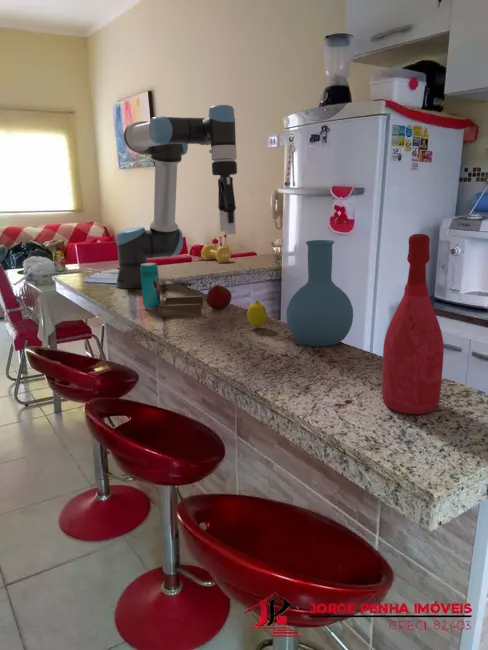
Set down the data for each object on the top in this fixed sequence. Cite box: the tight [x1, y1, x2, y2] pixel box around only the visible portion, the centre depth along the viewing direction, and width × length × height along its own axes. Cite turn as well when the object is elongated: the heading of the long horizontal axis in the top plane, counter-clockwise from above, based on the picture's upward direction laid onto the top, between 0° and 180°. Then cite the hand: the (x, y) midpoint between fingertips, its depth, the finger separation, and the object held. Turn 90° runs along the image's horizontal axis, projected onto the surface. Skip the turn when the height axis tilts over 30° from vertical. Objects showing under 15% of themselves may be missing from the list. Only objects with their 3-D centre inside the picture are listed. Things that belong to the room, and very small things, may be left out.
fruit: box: [246, 300, 268, 329], centre depth 140 cm, size 6×6×8 cm
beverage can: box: [140, 262, 162, 311], centre depth 167 cm, size 6×6×15 cm
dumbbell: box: [200, 244, 232, 264], centre depth 271 cm, size 19×9×8 cm, turn 34°
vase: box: [285, 239, 354, 347], centre depth 124 cm, size 16×16×25 cm
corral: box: [157, 295, 204, 318], centre depth 163 cm, size 13×13×4 cm
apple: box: [205, 284, 232, 311], centre depth 163 cm, size 8×8×8 cm
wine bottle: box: [381, 233, 445, 415], centre depth 85 cm, size 10×10×30 cm
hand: (227, 232), depth 157 cm, fingers open, 13 cm apart
